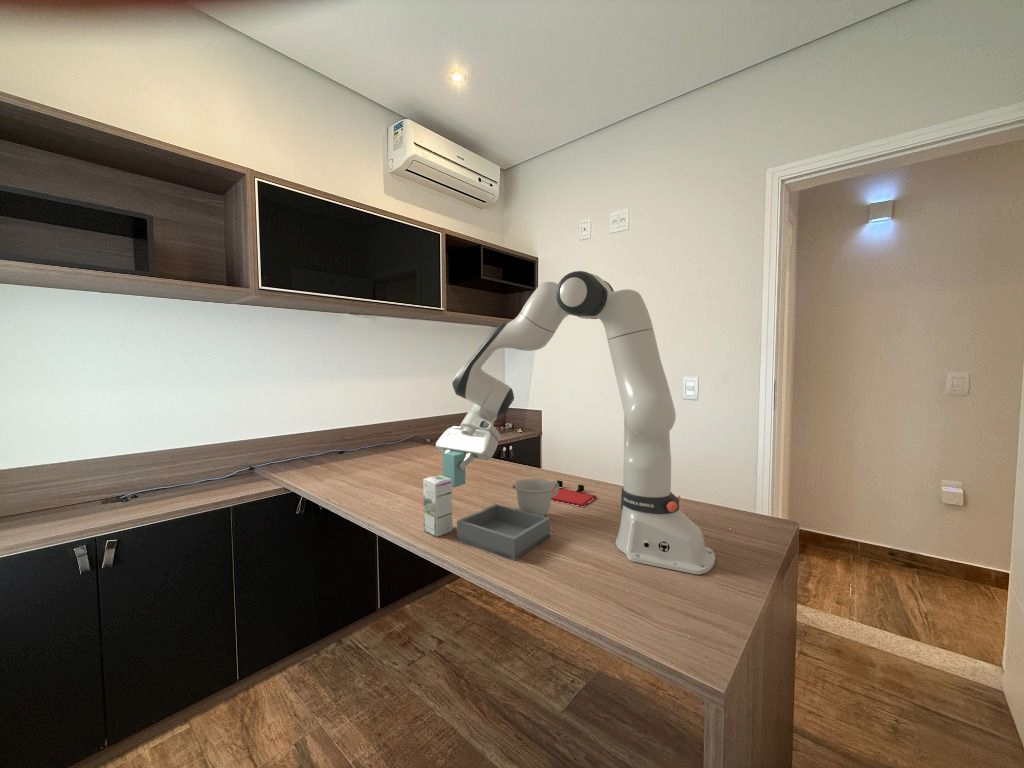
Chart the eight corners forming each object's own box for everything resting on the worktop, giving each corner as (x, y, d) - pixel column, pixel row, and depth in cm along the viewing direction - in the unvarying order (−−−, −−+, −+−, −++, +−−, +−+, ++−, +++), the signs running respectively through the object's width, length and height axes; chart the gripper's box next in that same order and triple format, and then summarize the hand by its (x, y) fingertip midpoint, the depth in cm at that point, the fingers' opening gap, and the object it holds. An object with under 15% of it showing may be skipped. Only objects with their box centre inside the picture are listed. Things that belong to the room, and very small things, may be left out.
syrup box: (453, 531, 109) (453, 478, 108) (435, 537, 104) (435, 482, 104) (440, 525, 113) (440, 474, 112) (422, 531, 108) (422, 478, 108)
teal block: (465, 483, 116) (465, 452, 116) (454, 487, 113) (454, 455, 112) (454, 481, 119) (453, 450, 118) (443, 484, 115) (442, 453, 115)
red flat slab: (526, 481, 157) (504, 492, 144) (526, 474, 156) (504, 484, 144) (600, 496, 140) (583, 510, 128) (600, 488, 140) (583, 501, 128)
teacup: (570, 518, 118) (571, 485, 118) (528, 529, 110) (529, 493, 110) (546, 506, 128) (546, 475, 128) (506, 515, 121) (506, 482, 120)
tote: (549, 536, 105) (550, 518, 105) (514, 560, 92) (514, 539, 92) (496, 521, 116) (496, 503, 116) (457, 540, 103) (457, 521, 103)
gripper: (445, 419, 127) (421, 455, 119) (496, 424, 115) (473, 465, 107) (455, 431, 131) (433, 467, 123) (505, 438, 118) (484, 478, 111)
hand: (452, 466), depth 115 cm, fingers closed on teal block, 4 cm apart
